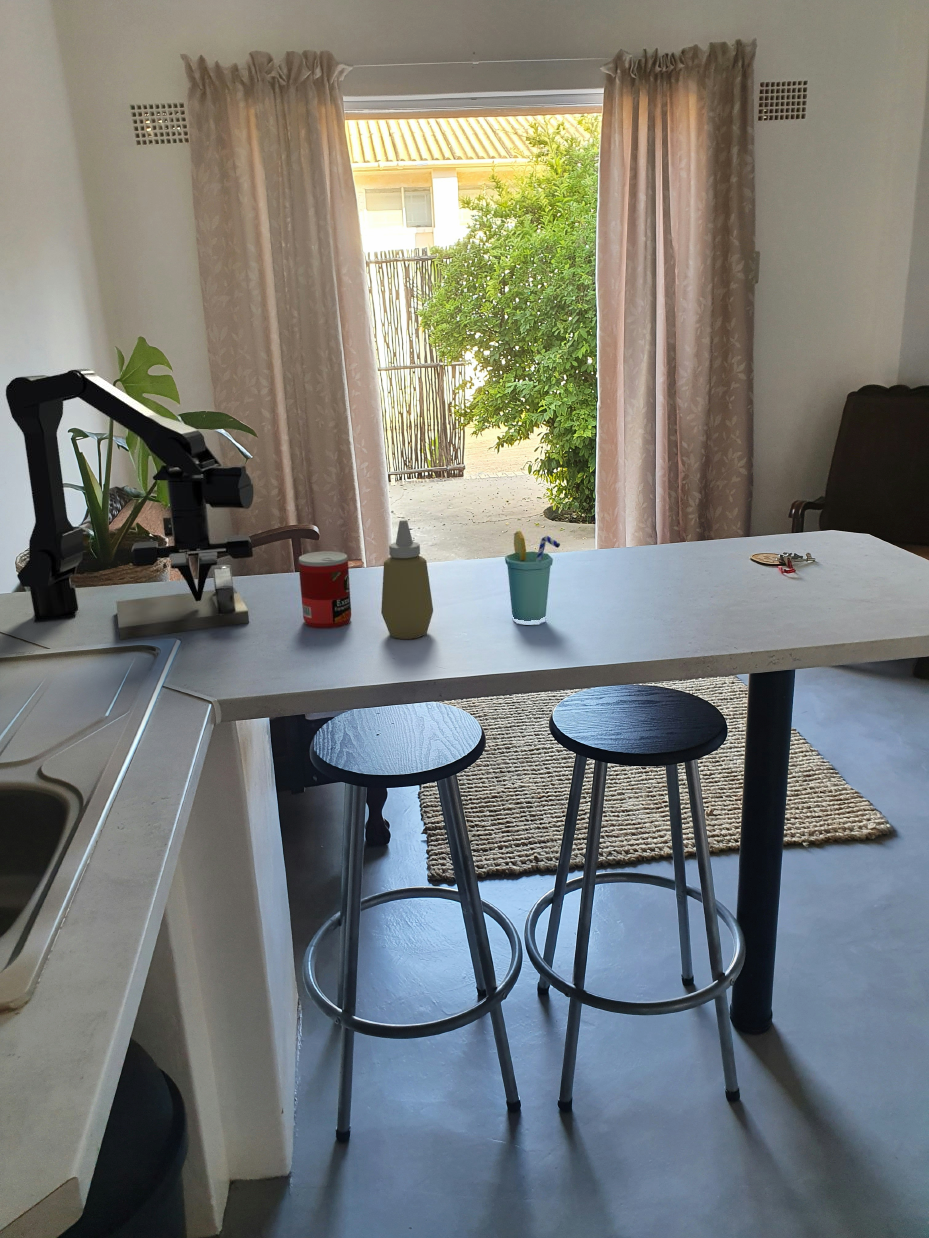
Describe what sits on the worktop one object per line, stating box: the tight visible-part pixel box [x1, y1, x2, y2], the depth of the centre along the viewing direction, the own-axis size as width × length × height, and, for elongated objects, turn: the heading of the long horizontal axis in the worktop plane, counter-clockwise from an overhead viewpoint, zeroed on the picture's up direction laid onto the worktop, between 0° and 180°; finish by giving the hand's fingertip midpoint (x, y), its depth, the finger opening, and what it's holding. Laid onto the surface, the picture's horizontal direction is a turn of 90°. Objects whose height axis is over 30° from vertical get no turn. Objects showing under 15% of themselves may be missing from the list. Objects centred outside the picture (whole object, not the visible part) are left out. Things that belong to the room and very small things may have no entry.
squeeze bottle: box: [380, 519, 434, 640], centre depth 137 cm, size 8×8×18 cm
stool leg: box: [211, 564, 236, 614], centre depth 151 cm, size 18×3×4 cm, turn 16°
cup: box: [504, 530, 561, 621], centre depth 142 cm, size 14×8×15 cm, turn 30°
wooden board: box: [115, 587, 250, 641], centre depth 150 cm, size 20×16×2 cm
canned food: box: [298, 550, 352, 629], centre depth 145 cm, size 8×8×11 cm
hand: (198, 600), depth 148 cm, fingers closed
